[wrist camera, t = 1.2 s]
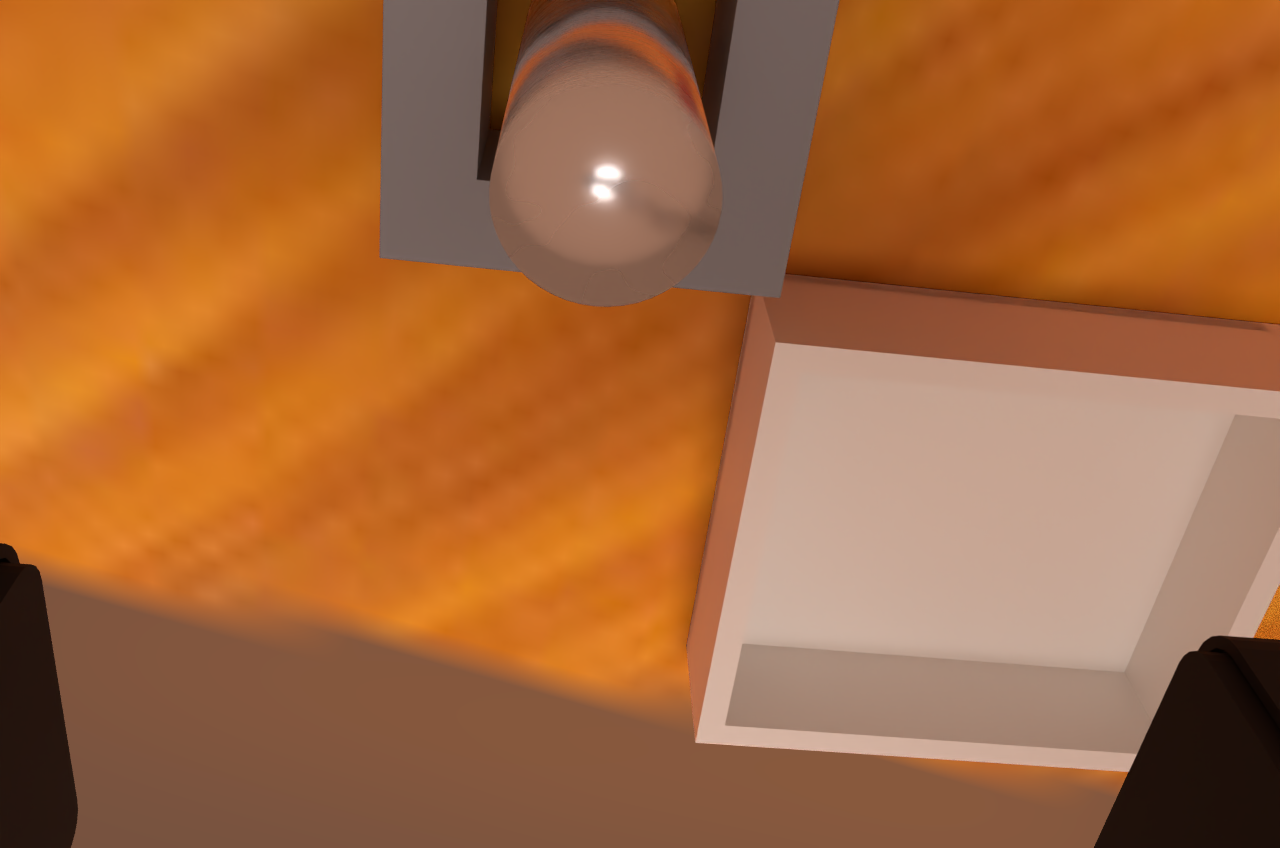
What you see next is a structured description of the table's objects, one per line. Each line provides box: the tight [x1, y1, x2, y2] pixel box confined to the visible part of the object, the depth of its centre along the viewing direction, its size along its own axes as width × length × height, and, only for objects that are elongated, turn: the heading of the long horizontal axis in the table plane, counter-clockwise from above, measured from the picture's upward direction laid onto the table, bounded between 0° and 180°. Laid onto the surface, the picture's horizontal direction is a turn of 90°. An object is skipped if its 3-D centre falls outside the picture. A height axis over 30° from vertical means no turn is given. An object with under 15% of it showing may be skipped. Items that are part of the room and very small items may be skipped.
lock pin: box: [489, 0, 723, 307], centre depth 26 cm, size 4×4×12 cm
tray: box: [686, 274, 1280, 772], centre depth 37 cm, size 16×14×4 cm
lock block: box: [380, 0, 839, 298], centre depth 29 cm, size 10×10×4 cm
